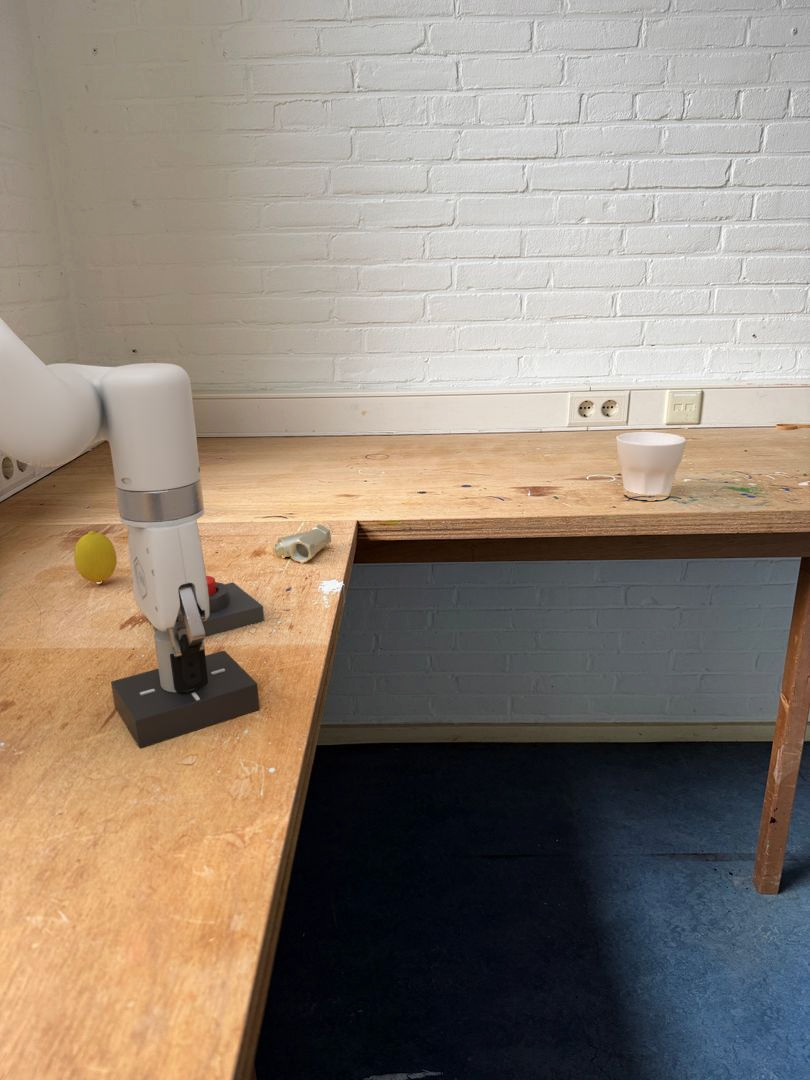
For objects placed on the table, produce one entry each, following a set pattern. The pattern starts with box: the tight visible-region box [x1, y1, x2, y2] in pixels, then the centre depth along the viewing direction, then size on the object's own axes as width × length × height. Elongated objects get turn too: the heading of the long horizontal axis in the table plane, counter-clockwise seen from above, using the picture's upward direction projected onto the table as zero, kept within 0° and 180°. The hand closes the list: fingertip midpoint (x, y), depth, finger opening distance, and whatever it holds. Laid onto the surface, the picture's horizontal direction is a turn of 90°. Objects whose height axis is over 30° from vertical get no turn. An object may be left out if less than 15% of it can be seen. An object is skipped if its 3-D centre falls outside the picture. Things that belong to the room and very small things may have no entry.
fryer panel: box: [110, 650, 260, 749], centre depth 80 cm, size 12×9×3 cm
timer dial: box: [153, 628, 196, 692], centre depth 79 cm, size 4×4×6 cm
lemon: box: [73, 530, 118, 583], centre depth 112 cm, size 6×6×8 cm
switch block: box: [149, 581, 265, 638], centre depth 100 cm, size 12×10×4 cm
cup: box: [615, 431, 687, 495], centre depth 150 cm, size 12×12×11 cm
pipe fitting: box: [272, 524, 332, 563], centre depth 123 cm, size 8×4×7 cm
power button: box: [206, 575, 216, 596], centre depth 100 cm, size 4×4×2 cm
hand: (182, 675), depth 79 cm, fingers closed on timer dial, 4 cm apart
